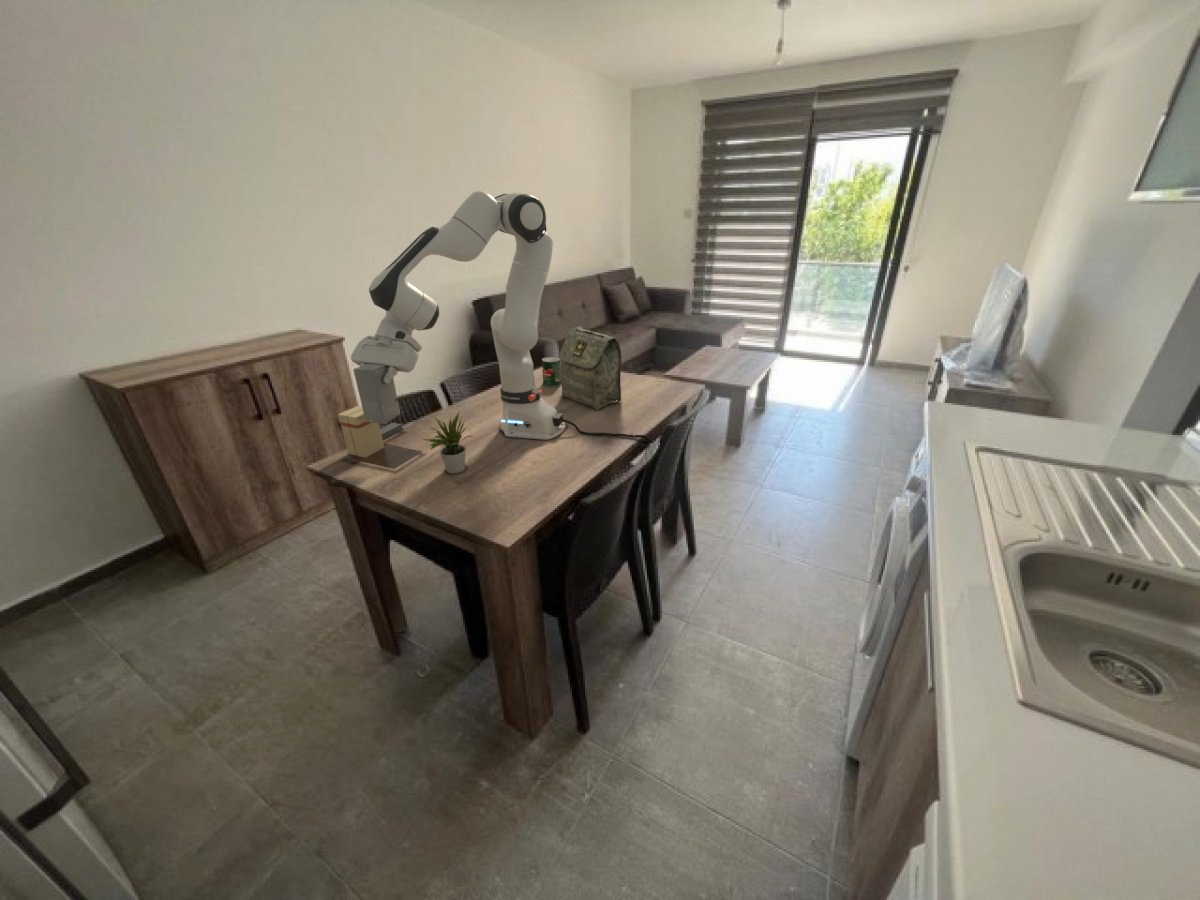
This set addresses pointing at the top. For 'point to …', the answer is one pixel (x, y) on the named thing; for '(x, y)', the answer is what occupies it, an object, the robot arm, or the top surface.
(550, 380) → the canned tomato
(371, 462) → the brown flat rectangular panel
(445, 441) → the house plant
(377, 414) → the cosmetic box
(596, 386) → the lunch bag
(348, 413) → the cream boxes
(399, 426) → the blue-grey rectangular block
